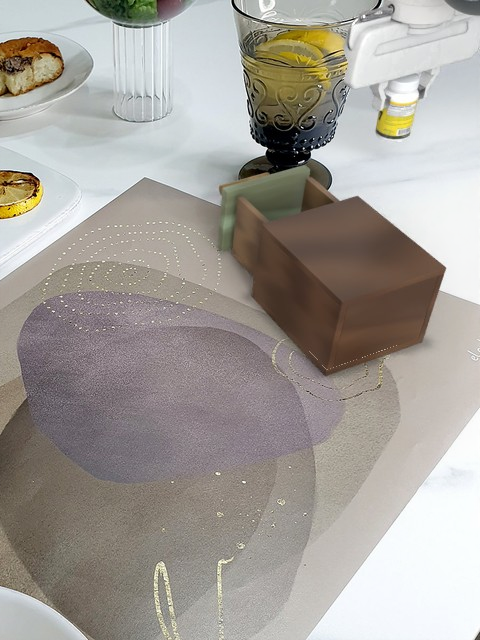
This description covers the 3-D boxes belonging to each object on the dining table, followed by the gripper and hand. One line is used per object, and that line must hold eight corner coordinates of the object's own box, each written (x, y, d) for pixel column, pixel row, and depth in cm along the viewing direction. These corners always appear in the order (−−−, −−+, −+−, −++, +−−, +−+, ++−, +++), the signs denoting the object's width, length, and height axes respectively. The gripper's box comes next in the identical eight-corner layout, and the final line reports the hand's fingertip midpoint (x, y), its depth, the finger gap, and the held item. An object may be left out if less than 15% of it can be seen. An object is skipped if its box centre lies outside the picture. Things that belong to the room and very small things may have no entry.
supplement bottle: (378, 124, 122) (390, 66, 116) (413, 129, 121) (426, 71, 115) (371, 139, 119) (382, 81, 113) (405, 145, 118) (419, 86, 112)
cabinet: (251, 296, 105) (261, 223, 97) (341, 268, 108) (357, 195, 101) (325, 376, 95) (342, 301, 87) (422, 342, 98) (446, 267, 90)
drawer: (199, 228, 114) (203, 169, 108) (276, 206, 117) (284, 147, 111) (277, 311, 101) (287, 250, 95) (361, 284, 104) (376, 223, 98)
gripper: (367, 23, 102) (348, 131, 112) (504, -11, 107) (475, 95, 117) (335, 6, 107) (320, 111, 116) (469, -26, 111) (444, 77, 121)
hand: (399, 103), depth 117 cm, fingers closed on supplement bottle, 5 cm apart
